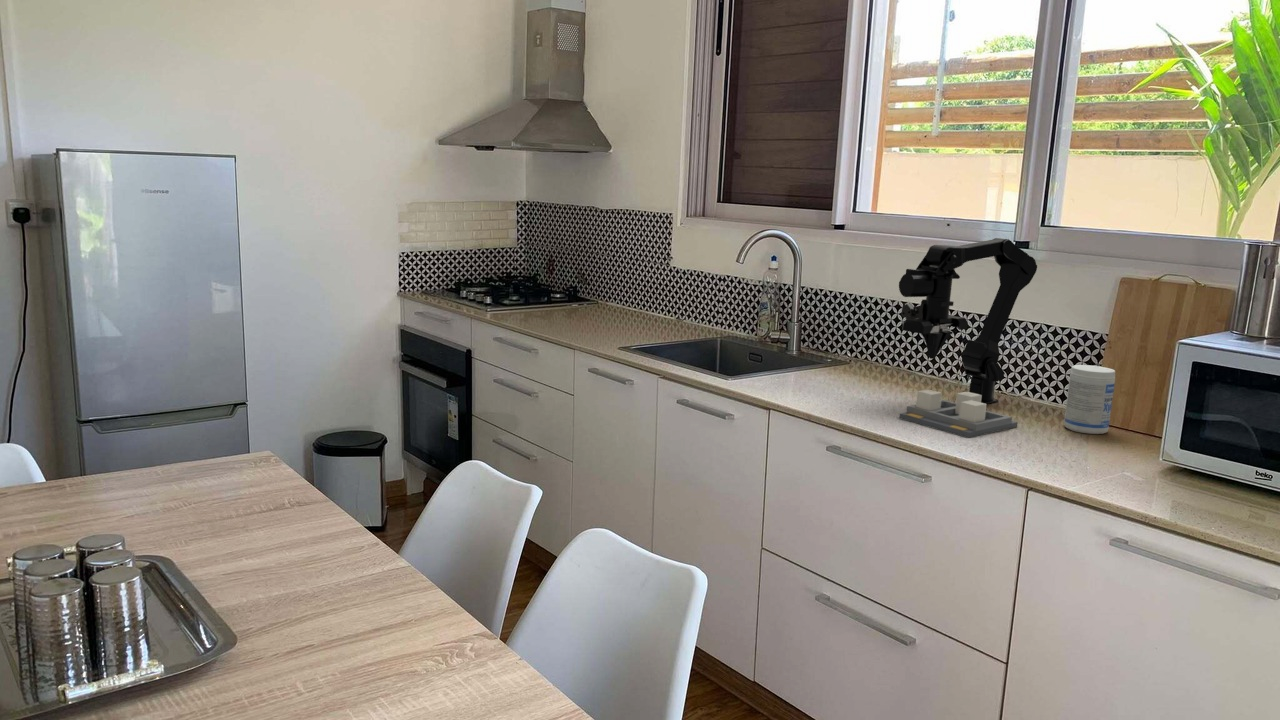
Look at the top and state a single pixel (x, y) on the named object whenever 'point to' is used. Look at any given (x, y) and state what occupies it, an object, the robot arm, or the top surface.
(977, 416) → the light grey block
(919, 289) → the robot arm
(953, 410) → the grey compartment tray
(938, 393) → the beige grey rectangular block
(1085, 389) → the supplement tub
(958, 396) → the light grey block
